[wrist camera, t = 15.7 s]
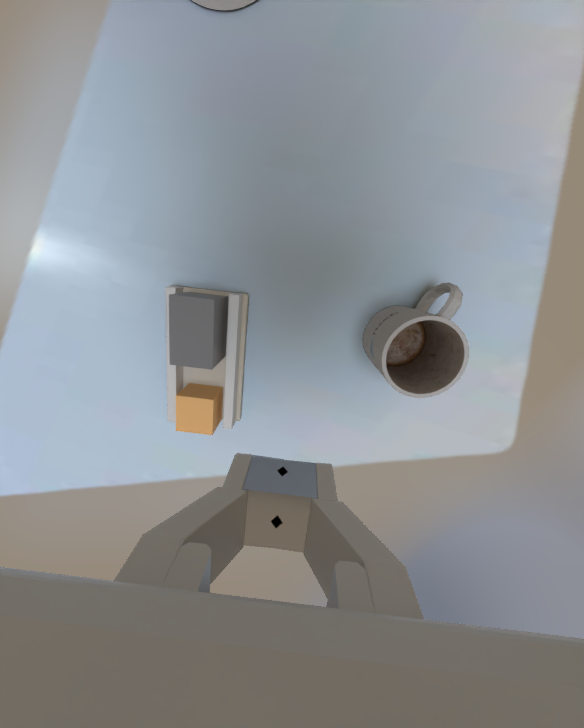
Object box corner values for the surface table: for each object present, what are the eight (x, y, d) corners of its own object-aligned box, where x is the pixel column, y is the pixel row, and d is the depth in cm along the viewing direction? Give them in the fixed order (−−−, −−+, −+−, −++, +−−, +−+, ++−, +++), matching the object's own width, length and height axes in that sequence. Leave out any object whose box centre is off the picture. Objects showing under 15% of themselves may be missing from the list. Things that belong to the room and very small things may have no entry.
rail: (173, 285, 38) (152, 286, 33) (249, 294, 38) (240, 297, 33) (174, 409, 43) (156, 428, 38) (240, 417, 43) (232, 437, 38)
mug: (394, 381, 41) (421, 413, 31) (349, 341, 39) (363, 361, 30) (464, 314, 38) (518, 327, 28) (418, 268, 36) (459, 265, 27)
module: (189, 291, 37) (168, 294, 32) (228, 296, 37) (214, 299, 32) (189, 351, 40) (169, 364, 34) (225, 356, 40) (212, 369, 34)
